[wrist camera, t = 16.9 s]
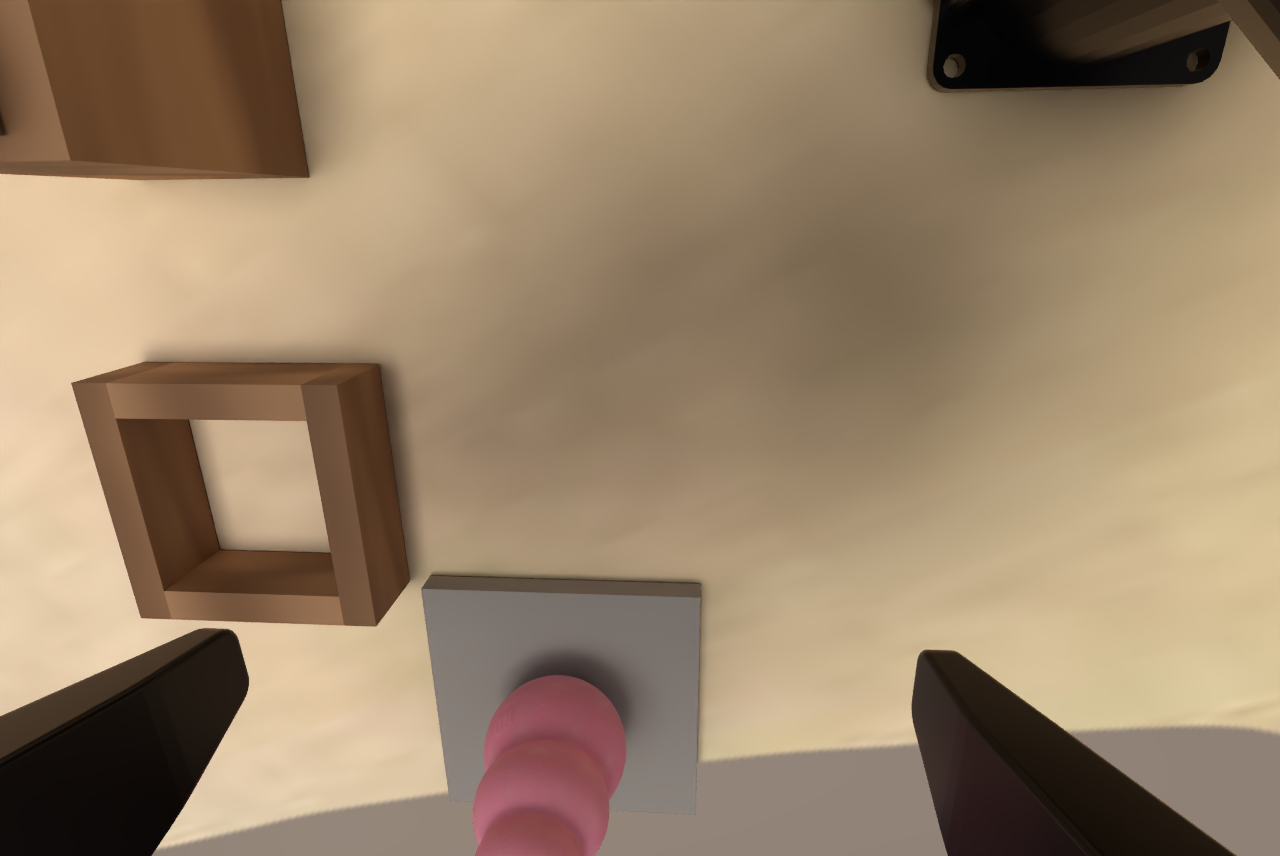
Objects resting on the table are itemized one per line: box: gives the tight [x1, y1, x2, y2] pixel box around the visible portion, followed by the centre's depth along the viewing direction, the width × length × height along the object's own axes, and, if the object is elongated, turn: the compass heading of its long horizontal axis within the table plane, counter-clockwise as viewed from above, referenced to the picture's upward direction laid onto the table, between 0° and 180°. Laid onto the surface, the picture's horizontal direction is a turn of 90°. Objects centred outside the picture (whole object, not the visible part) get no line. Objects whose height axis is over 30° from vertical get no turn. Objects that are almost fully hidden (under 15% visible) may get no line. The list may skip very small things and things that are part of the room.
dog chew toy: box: [473, 675, 626, 856], centre depth 19 cm, size 4×4×7 cm
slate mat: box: [421, 576, 700, 815], centre depth 23 cm, size 9×9×1 cm
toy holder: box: [0, 0, 410, 626], centre depth 15 cm, size 8×24×7 cm, turn 1°
